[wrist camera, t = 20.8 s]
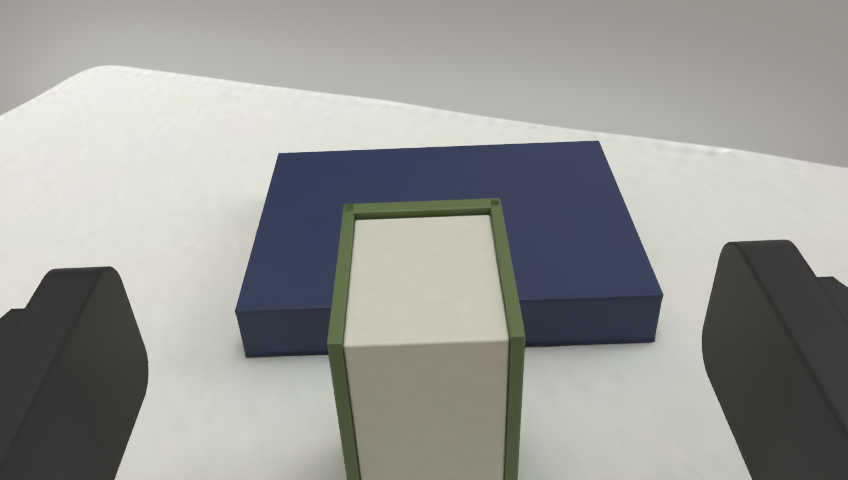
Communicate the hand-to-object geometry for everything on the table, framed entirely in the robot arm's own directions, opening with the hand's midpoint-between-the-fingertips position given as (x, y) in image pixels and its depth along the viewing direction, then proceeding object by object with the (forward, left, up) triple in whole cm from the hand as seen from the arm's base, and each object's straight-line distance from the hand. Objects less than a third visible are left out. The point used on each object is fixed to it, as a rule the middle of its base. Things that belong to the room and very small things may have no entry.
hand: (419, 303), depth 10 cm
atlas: (-1, -27, -20) cm, 33 cm away
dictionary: (0, -11, -20) cm, 22 cm away
